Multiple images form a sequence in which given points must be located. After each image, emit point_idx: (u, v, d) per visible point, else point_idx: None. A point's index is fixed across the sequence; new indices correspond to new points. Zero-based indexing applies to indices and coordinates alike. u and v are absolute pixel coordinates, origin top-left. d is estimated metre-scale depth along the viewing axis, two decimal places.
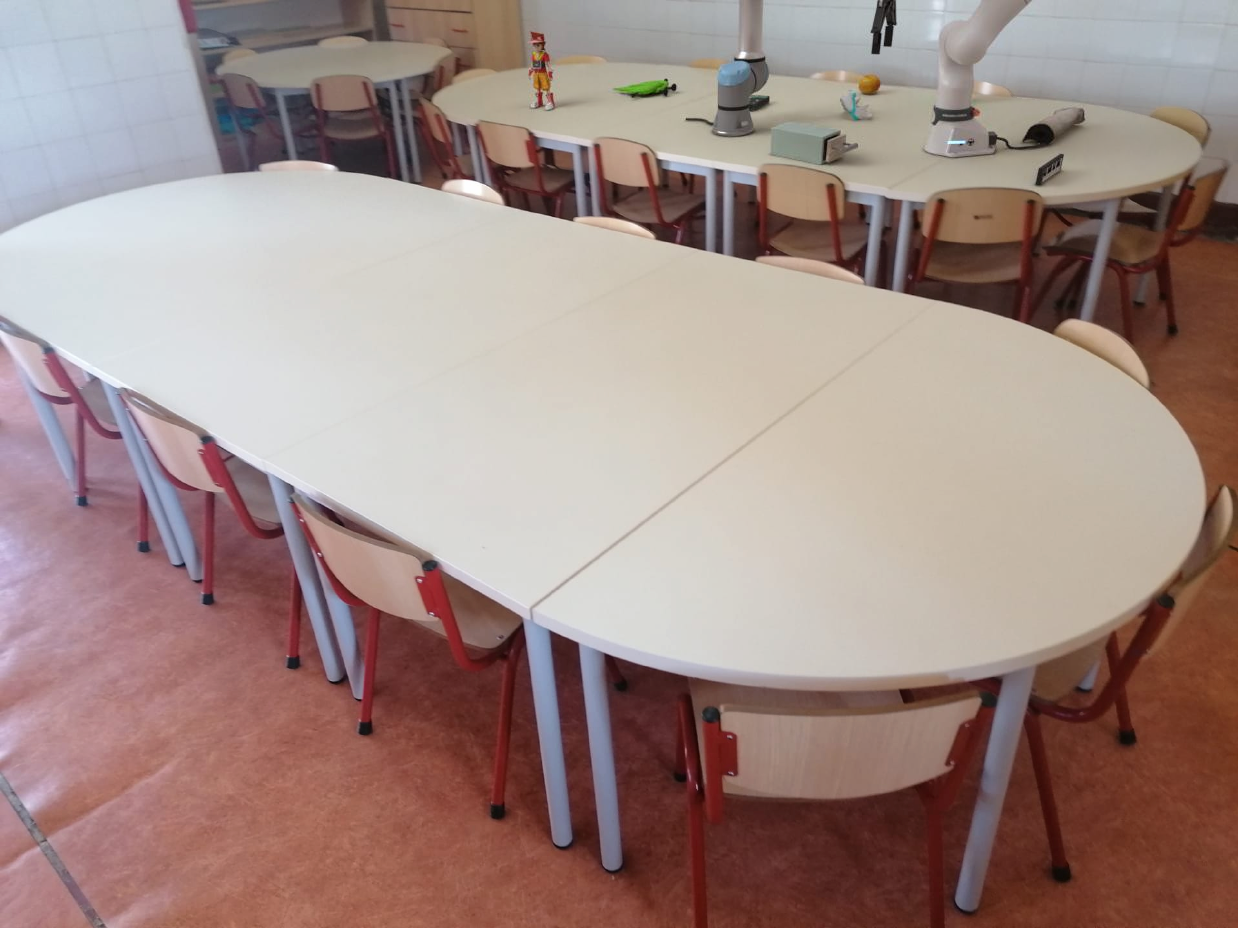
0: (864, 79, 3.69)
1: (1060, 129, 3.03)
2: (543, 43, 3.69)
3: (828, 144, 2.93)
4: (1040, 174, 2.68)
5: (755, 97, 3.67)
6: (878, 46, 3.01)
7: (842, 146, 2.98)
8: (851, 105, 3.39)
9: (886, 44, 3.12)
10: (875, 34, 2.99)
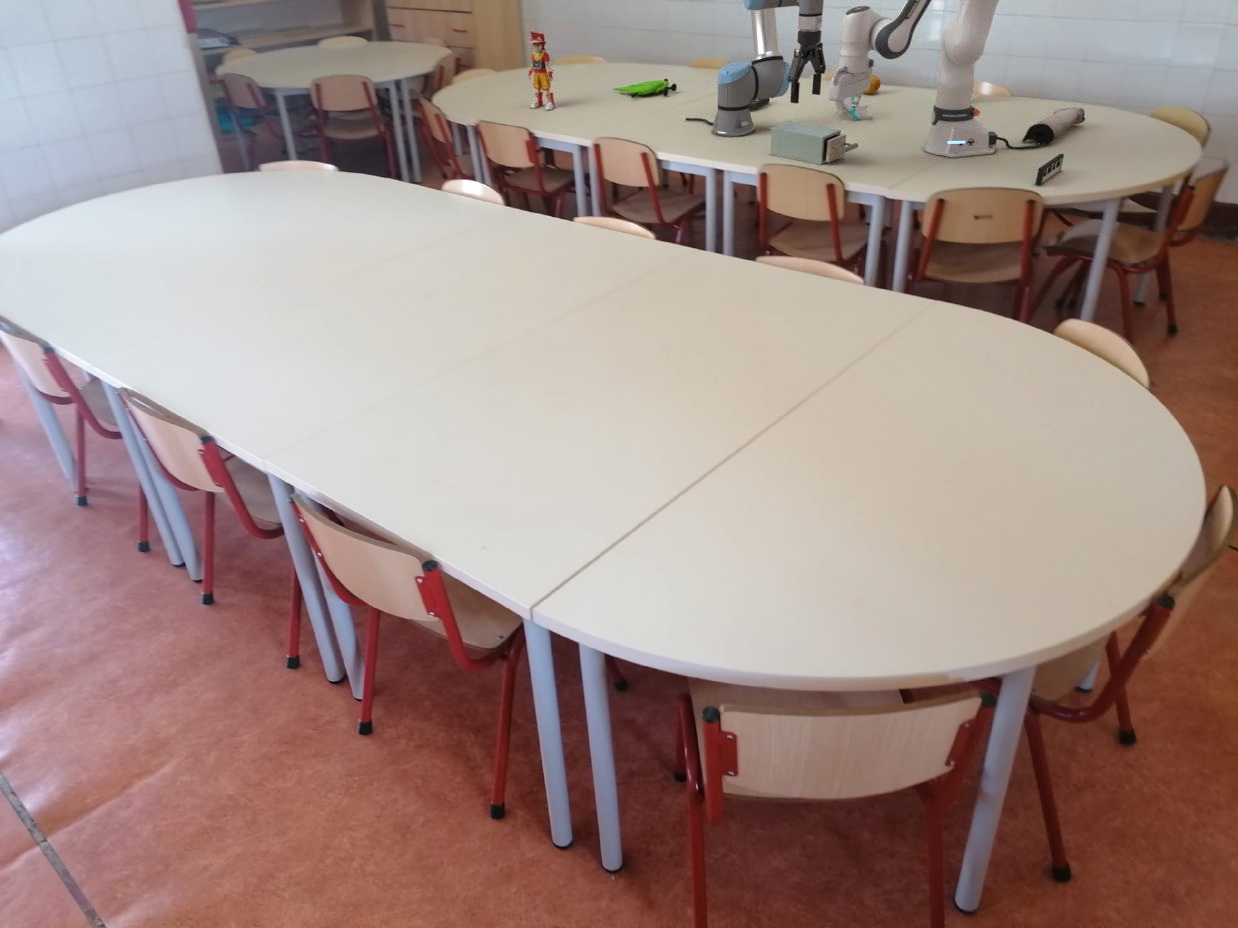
0: None
1: (1060, 129, 3.03)
2: (543, 43, 3.69)
3: (828, 144, 2.93)
4: (1040, 174, 2.68)
5: None
6: (796, 95, 2.97)
7: (842, 146, 2.98)
8: (851, 105, 3.39)
9: (814, 92, 3.06)
10: (792, 83, 2.94)
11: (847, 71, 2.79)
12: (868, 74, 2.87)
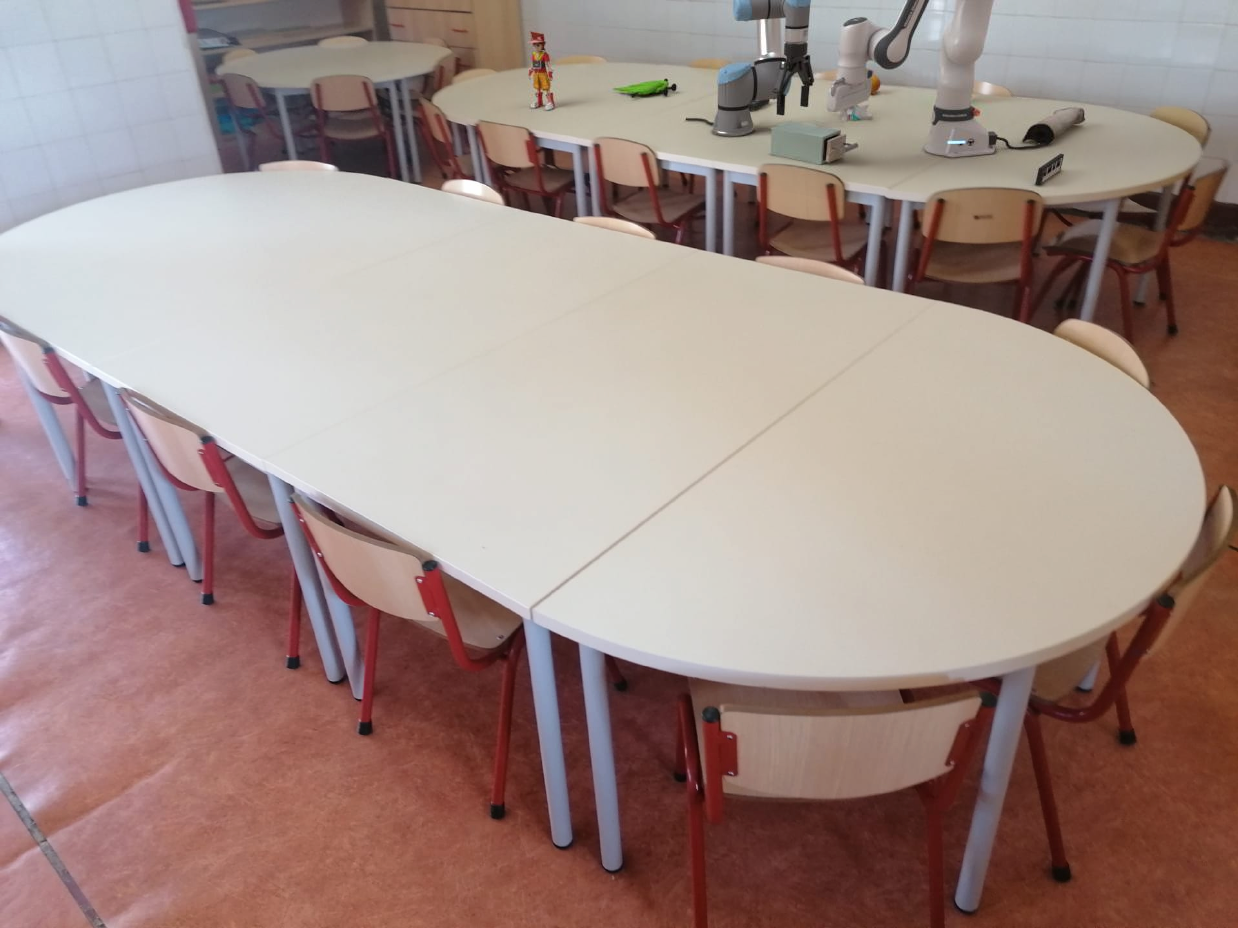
0: None
1: (1060, 129, 3.03)
2: (543, 43, 3.69)
3: (828, 144, 2.93)
4: (1040, 174, 2.68)
5: None
6: (782, 107, 2.96)
7: (842, 146, 2.98)
8: None
9: (802, 104, 3.06)
10: (778, 95, 2.94)
11: (845, 82, 2.80)
12: (867, 84, 2.88)
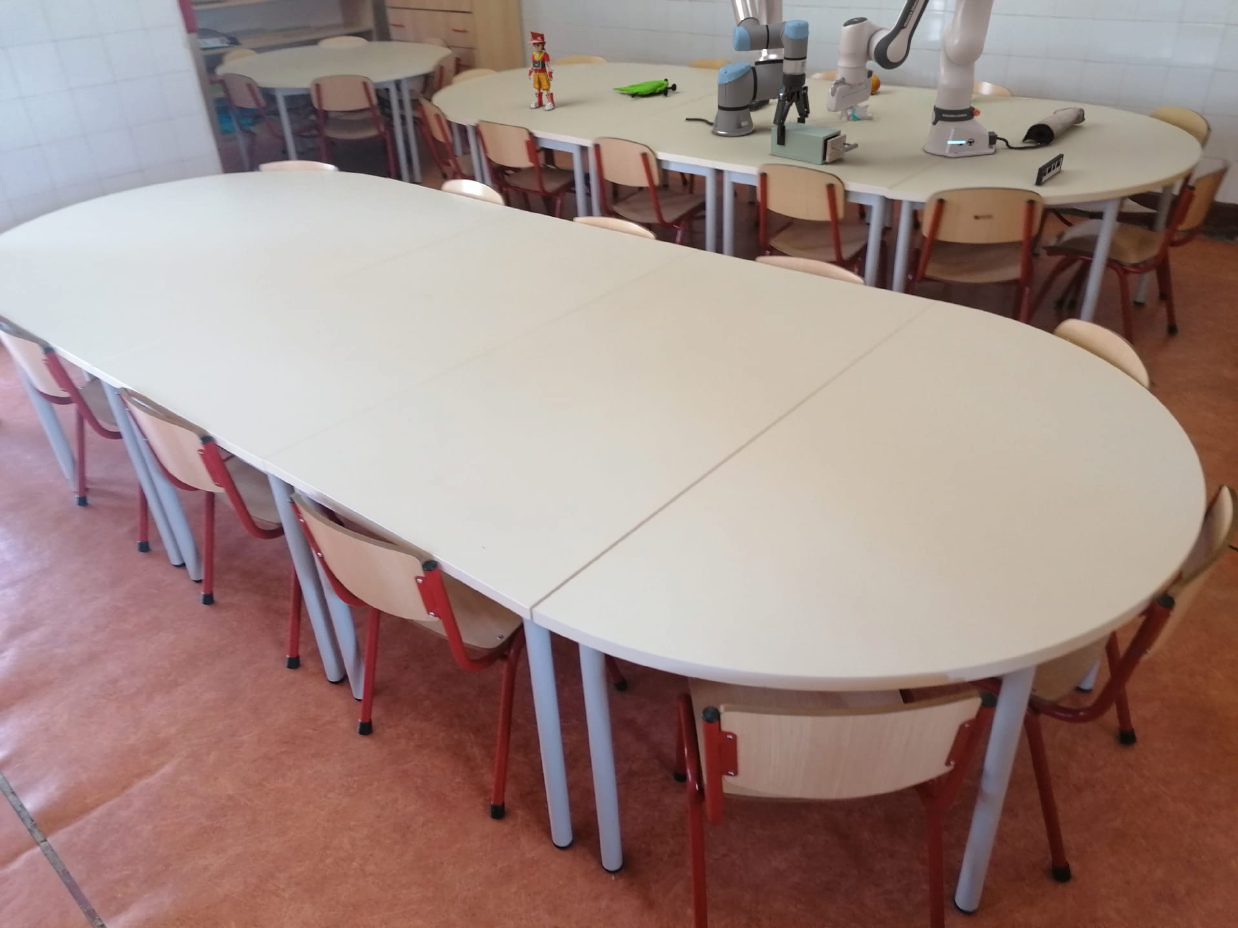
0: None
1: (1060, 129, 3.03)
2: (543, 43, 3.69)
3: (828, 144, 2.93)
4: (1040, 174, 2.68)
5: None
6: (782, 138, 3.03)
7: (842, 146, 2.98)
8: None
9: None
10: (778, 126, 3.01)
11: (845, 82, 2.80)
12: (867, 84, 2.88)
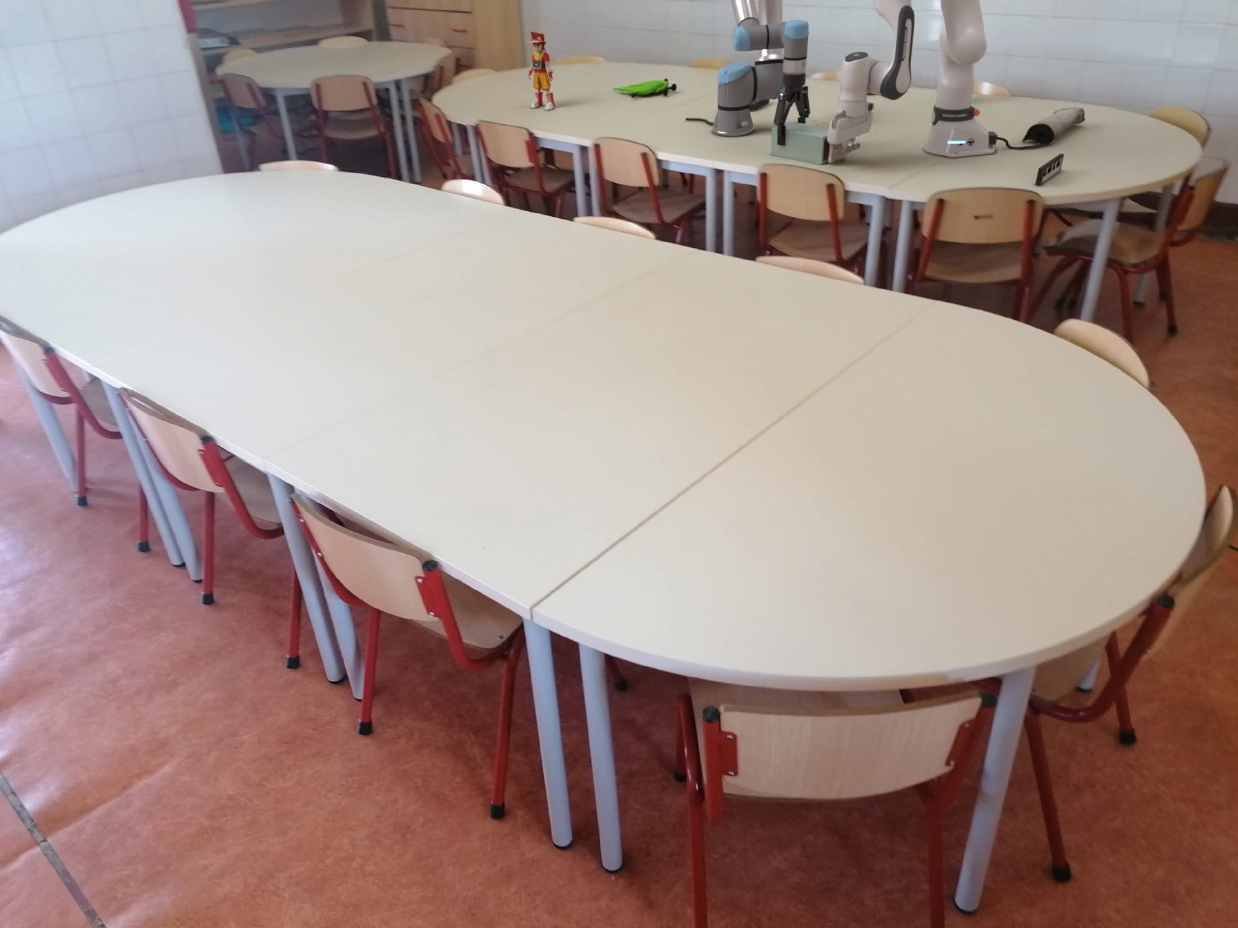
0: None
1: (1060, 129, 3.03)
2: (543, 43, 3.69)
3: (830, 144, 2.93)
4: (1040, 174, 2.68)
5: None
6: (782, 138, 3.03)
7: None
8: None
9: None
10: (778, 126, 3.01)
11: (845, 115, 2.85)
12: (868, 117, 2.92)
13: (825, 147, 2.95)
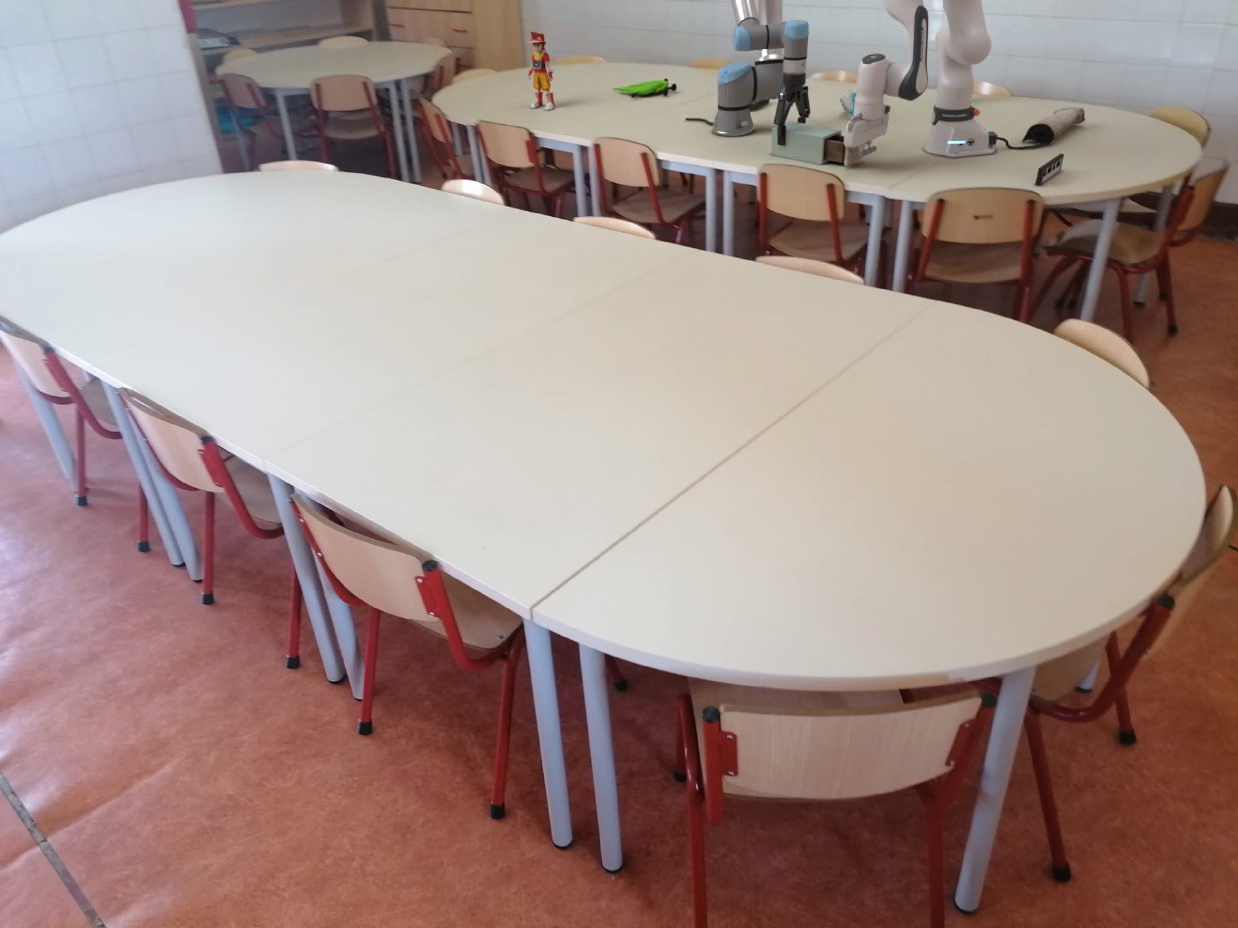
0: None
1: (1060, 129, 3.03)
2: (543, 43, 3.69)
3: (846, 147, 2.89)
4: (1040, 174, 2.68)
5: None
6: (782, 138, 3.03)
7: None
8: (851, 105, 3.39)
9: None
10: (778, 126, 3.01)
11: (862, 118, 2.81)
12: (884, 119, 2.89)
13: (841, 150, 2.92)
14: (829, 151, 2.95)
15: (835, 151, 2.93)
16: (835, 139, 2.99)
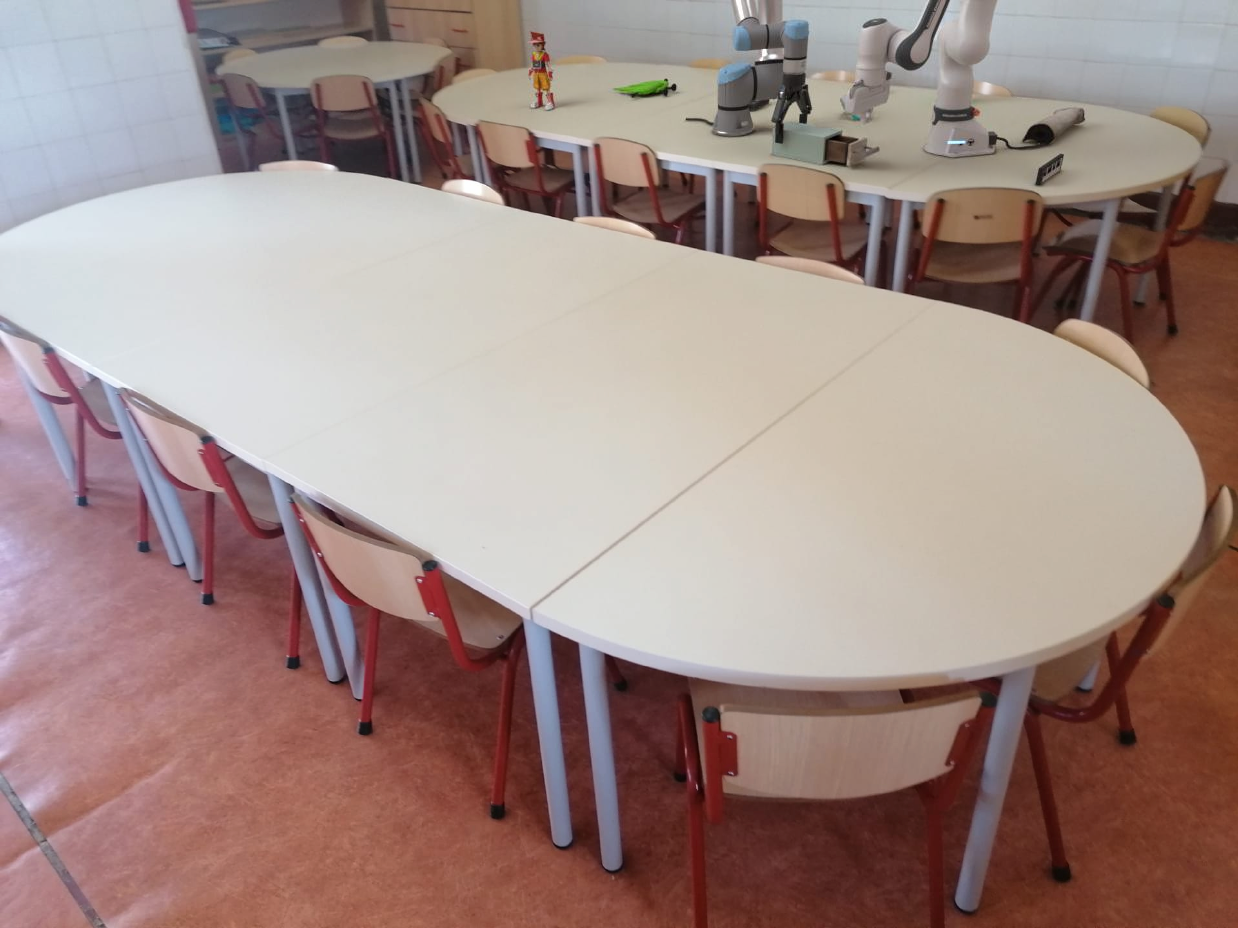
0: None
1: (1060, 129, 3.03)
2: (543, 43, 3.69)
3: (849, 148, 2.88)
4: (1040, 174, 2.68)
5: None
6: (780, 136, 3.02)
7: (863, 150, 2.94)
8: None
9: None
10: (776, 124, 3.00)
11: (863, 84, 2.76)
12: (886, 87, 2.84)
13: (843, 150, 2.91)
14: (832, 151, 2.94)
15: (838, 151, 2.93)
16: (837, 140, 2.99)
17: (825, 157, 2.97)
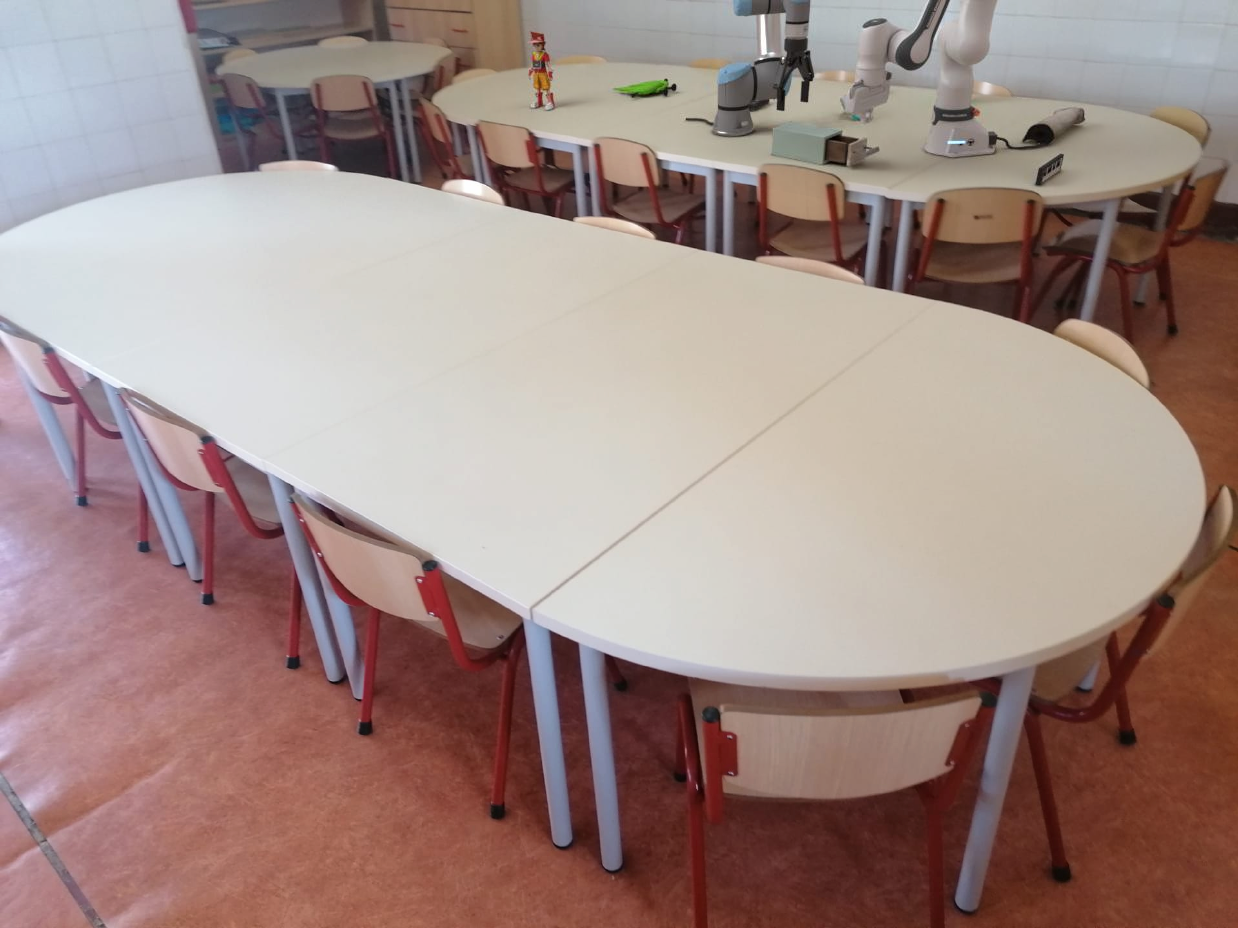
0: None
1: (1060, 129, 3.03)
2: (543, 43, 3.69)
3: (849, 148, 2.88)
4: (1040, 174, 2.68)
5: None
6: (782, 103, 2.96)
7: (863, 150, 2.94)
8: None
9: (803, 100, 3.05)
10: (778, 91, 2.93)
11: (863, 84, 2.76)
12: (886, 87, 2.84)
13: (843, 150, 2.91)
14: (832, 152, 2.94)
15: (838, 152, 2.93)
16: (837, 140, 2.99)
17: (825, 157, 2.97)
